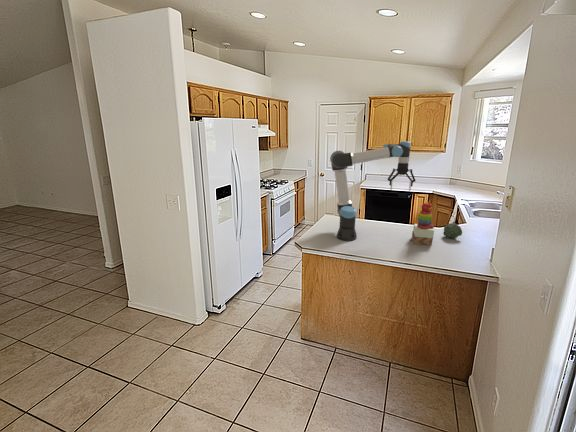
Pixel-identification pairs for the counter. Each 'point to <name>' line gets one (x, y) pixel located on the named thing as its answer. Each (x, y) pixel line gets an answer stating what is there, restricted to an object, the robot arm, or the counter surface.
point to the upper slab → (423, 232)
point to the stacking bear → (425, 217)
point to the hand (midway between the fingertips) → (400, 190)
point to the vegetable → (452, 230)
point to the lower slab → (421, 240)
